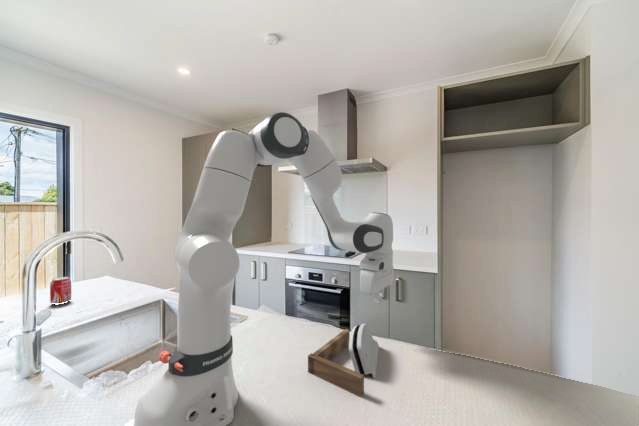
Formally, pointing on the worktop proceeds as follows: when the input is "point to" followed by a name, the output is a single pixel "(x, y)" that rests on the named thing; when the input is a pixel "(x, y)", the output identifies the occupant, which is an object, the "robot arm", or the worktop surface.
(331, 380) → the wooden corner bracket
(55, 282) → the soda can
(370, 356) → the white black-banded slab
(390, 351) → the worktop surface
